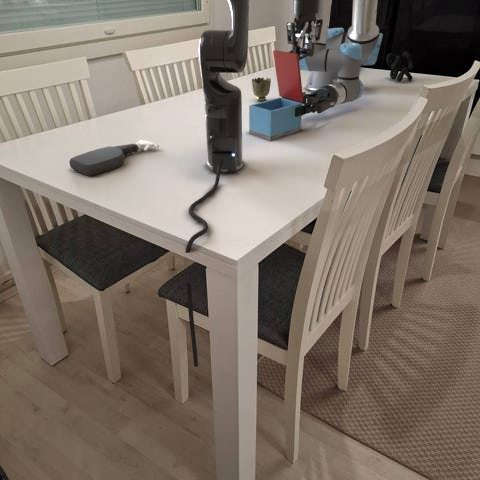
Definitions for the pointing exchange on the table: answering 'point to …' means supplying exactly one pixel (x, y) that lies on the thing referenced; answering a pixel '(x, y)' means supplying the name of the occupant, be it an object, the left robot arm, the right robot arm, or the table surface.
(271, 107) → the chest
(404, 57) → the squiggle
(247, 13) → the left robot arm
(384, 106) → the table surface
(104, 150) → the wireless presentation dongle
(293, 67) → the lid
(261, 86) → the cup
